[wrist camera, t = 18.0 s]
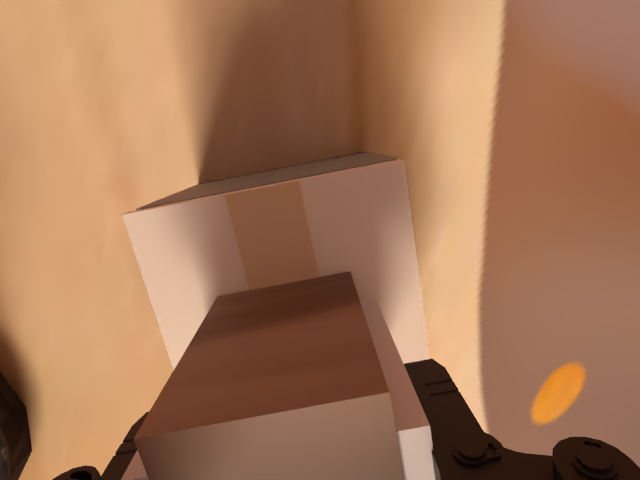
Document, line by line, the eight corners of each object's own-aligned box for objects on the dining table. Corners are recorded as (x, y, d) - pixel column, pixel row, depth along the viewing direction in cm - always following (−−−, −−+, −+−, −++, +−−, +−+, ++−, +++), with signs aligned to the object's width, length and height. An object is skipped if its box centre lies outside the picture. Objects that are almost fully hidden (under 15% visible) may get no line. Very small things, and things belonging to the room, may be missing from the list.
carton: (197, 184, 22) (135, 209, 14) (364, 151, 22) (397, 158, 14) (245, 361, 26) (216, 464, 17) (392, 333, 25) (432, 425, 17)
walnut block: (217, 296, 14) (133, 438, 7) (350, 271, 14) (389, 392, 7) (248, 409, 15) (201, 620, 9) (370, 387, 15) (420, 583, 8)
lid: (129, 211, 14) (120, 215, 13) (400, 159, 14) (405, 160, 13) (214, 471, 17) (210, 485, 16) (435, 431, 17) (441, 443, 16)
